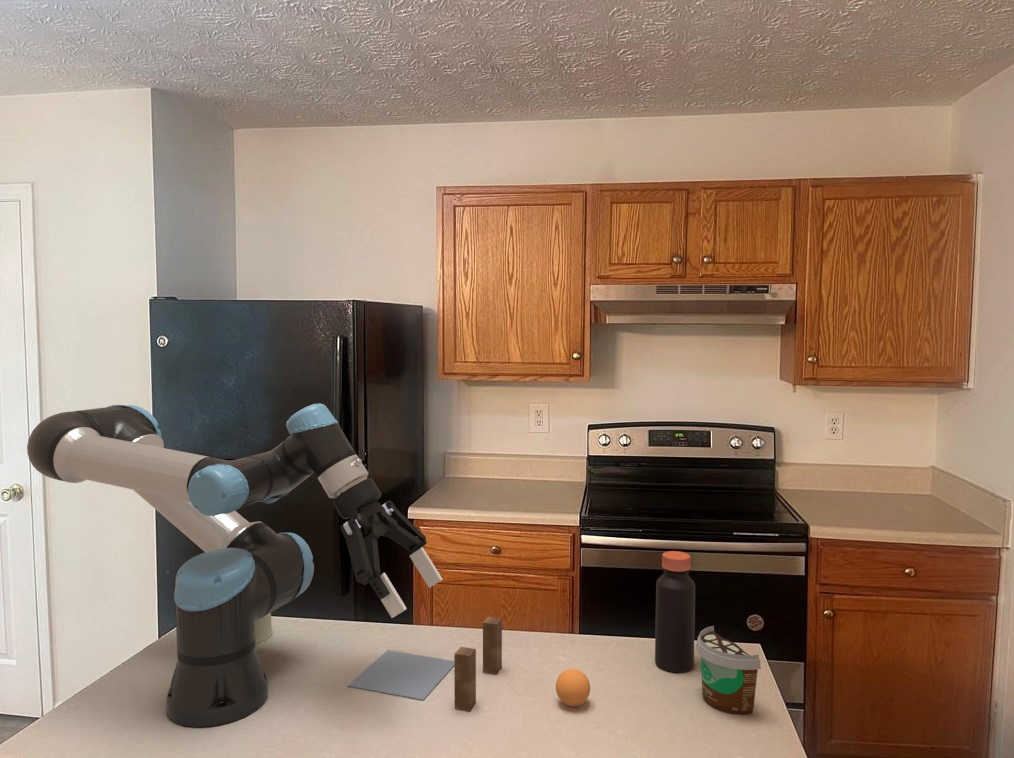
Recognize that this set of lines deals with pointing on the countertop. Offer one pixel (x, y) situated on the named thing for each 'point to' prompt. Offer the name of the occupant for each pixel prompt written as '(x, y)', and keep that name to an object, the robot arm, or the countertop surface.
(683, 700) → the countertop surface
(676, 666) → the bottle
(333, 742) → the countertop surface
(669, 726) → the countertop surface
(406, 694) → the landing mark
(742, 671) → the food container
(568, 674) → the ball
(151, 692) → the countertop surface
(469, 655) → the post
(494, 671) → the post
